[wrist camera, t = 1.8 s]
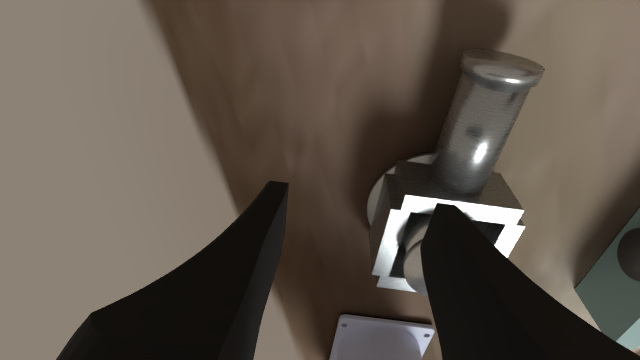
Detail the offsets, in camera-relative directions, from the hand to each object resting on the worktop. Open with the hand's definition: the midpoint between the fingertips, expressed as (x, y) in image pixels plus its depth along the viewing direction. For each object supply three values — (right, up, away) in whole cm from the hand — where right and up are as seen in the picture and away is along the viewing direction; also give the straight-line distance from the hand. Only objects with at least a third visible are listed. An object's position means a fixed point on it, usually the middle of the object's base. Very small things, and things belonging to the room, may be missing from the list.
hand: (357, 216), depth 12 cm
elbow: (+6, +2, +9) cm, 11 cm away
